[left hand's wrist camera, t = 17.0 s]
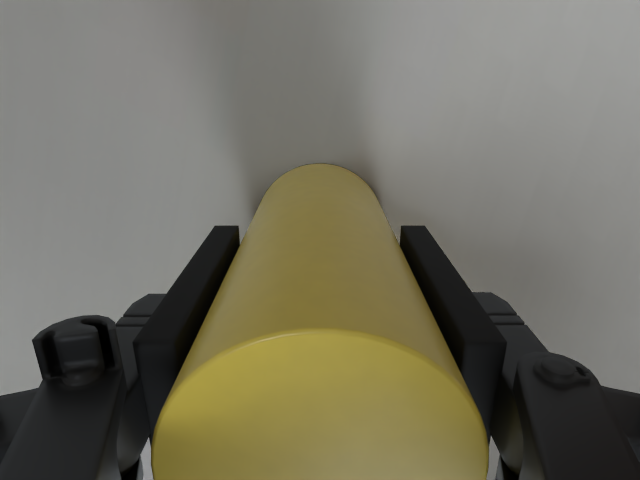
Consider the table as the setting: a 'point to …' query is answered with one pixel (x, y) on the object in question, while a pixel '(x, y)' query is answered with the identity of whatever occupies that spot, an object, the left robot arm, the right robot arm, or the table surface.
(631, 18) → the table surface
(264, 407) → the cylinder
